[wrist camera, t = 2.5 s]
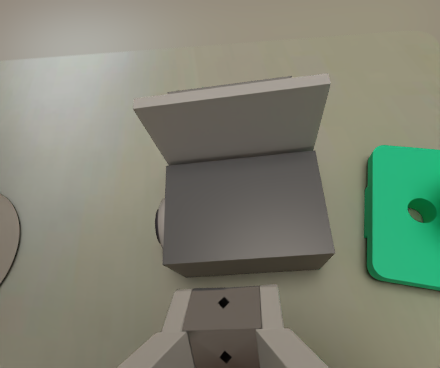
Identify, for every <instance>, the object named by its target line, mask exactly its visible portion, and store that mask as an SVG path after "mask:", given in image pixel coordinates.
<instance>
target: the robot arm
mask: <svg viewBox="0 0 440 368" xmlns="http://www.w3.org/2000/svg"><path fill="white" fill-rule="evenodd" d="M18 241H19V220H18V216H17V213H16V211H15V208H14V207H13V205H12V204H11V202H10V201H9V200H8V199H7V198H6V197H4V196H3V195H2V194H0V283H1V282H2V280H3V279H4V277H5V276H6V274H7V272H8V270H9V268H10V266H11V264H12V262H13V259H14V257H15V254H16V250H17V246H18ZM117 368H329V367H328V366H327V365H326V364H325V363H324V362H323V361H322V360H321V359H320V358H319V357H318V356H317V355H316V354H315V353H314V352H313V351H312V350H311V349H310V348H309V347H308V346H307V345H306V344H305V343H304V342H303V341H302V340H301V339H300V338H299V337H298V336H297V335H296V334H295V333H294V332H293V331H292V330H291V329H290V328H284V324H283V317H282V310H281V303H280V296H279V289H278V285H277V284H272V285H260V286H249V287H231V288H195V289H177V290H176V291H175V292H174V294H173V297H172V300H171V303H170V307H169V310H168V313H167V316H166V319H165V322H164V325H163V328H162V331H161V332H158V333H155V334H154V335H153V336H152V337H150V338H149V339H148V340H147V341H146V342H145V343H144V344H143V345H141V346H140V347H139V348H138V349H137V350H136V351H135V352H134V353H132V354H131V355H130V356H129V357H128V358H127V359H126V360H125V361H123V362H122V363H121V364H120V365H119V366H118V367H117Z"/></svg>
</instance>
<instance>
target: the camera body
mask: <svg viewBox="0 0 440 368" xmlns="http://www.w3.org/2000/svg"><path fill="white" fill-rule="evenodd" d="M155 229H156V235H157V239H158V241H159V243H160V244H161V246H162V248H163V265H164V266H166V267H168V268H170V269H172V270H174V271H175V272H177V273H179V274H181V275H183V276H185V277H200V276H217V275H233V274H250V273H266V272H283V271H299V270H316V269H320V268H321V267H322V266H323V265H324V264H325V263H326V262H327V261H328V260H329V259H330V258H331V257H332V256H333V255H334V254H335V250H334V245H333V240H332V235H331V229H330V224H329V219H328V214H327V209H326V204H325V199H324V193H323V188H322V183H321V178H320V173H319V168H318V163H317V157H316V152H315V151H305V152H296V153H286V154H277V155H267V156H257V157H248V158H238V159H229V160H219V161H209V162H200V163H190V164H180V165H171V166H166V188H165V198H164V199H162V201H161V203H160V206H159V209H158V210H157V213H156V218H155Z"/></svg>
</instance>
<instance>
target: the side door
mask: <svg viewBox="0 0 440 368" xmlns="http://www.w3.org/2000/svg"><path fill="white" fill-rule="evenodd" d="M330 84H331V83H330V79H329V75H328V73H325V74H318V75H310V76H302V77H295V78H292V76H288V77H280V78H273V79H265V80H257V81H250V82H242V83H235V84H227V85H220V86H212V87H204V88H197V89H189V90H182V91H174V92H168V94H165V95H158V96H150V97H143V98H135V99H134V103H133V110H134V111H135V113H136V114H137V116H138V118H139V119H140V121H141V122H142V124H143V125H144V127H145V129H146V130H147V132H148V133H149V135H150V136H151V138H152V140H153V141H154V143H155V144H156V146H157V147H158V149H159V151H160V152H161V154H162V155H163V157H164V159H165V160H166V162H167V163H168V165H169V166H171V165H180V164H190V163H200V162H209V161H219V160H229V159H238V158H248V157H257V156H267V155H277V154H286V153H296V152H305V151H313V149H314V145H315V142H316V138H317V134H318V130H319V126H320V122H321V119H322V115H323V111H324V107H325V103H326V100H327V96H328V92H329V88H330Z"/></svg>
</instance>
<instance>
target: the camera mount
mask: <svg viewBox="0 0 440 368" xmlns="http://www.w3.org/2000/svg"><path fill="white" fill-rule="evenodd" d="M408 208H412V209H414V210H416V211H418V212H419V213H420V214H421V216H422V218H423V223H421V222H418V221H416V220H414V219H413V218H412V217H411V216H410V214H409V212H408ZM364 238H367V269H368V271H369V273H370V274H371V276H372V277H374V278H375V279H377V280H380V281H386V282H392V283H397V284H403V285H409V286H415V287H421V288H427V289H433V290H439V291H440V150H435V149H423V148H412V147H400V146H388V145H381V146H378V147H376V148H375V149H374V151H373V152H372V154H371V156H370V157H369V159H368V186H367V188H366V189H365V214H364Z"/></svg>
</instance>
